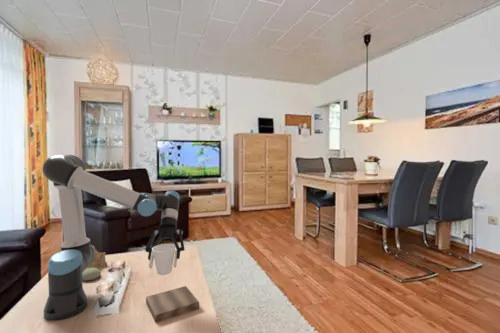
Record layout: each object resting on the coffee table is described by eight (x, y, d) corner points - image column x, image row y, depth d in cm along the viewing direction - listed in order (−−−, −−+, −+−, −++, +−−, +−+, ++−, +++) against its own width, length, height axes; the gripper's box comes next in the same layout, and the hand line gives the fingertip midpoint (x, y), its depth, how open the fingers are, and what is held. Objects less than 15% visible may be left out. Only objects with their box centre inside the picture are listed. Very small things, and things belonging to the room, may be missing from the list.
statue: (90, 244, 161) (104, 240, 159) (97, 266, 161) (110, 263, 158) (73, 251, 149) (87, 247, 147) (80, 275, 149) (94, 272, 147)
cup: (169, 278, 110) (168, 252, 110) (147, 276, 112) (147, 250, 112) (180, 268, 120) (179, 244, 120) (159, 266, 122) (159, 242, 121)
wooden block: (155, 322, 104) (155, 315, 103) (146, 303, 117) (146, 296, 117) (199, 308, 113) (199, 301, 113) (185, 292, 127) (185, 286, 127)
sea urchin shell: (95, 268, 147) (100, 261, 144) (100, 281, 144) (104, 274, 140) (77, 274, 140) (81, 266, 137) (81, 287, 137) (85, 280, 133)
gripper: (193, 223, 132) (190, 268, 117) (146, 224, 129) (137, 271, 114) (191, 215, 126) (188, 261, 111) (143, 216, 124) (133, 264, 109)
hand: (162, 266), depth 113 cm, fingers closed on cup, 9 cm apart
